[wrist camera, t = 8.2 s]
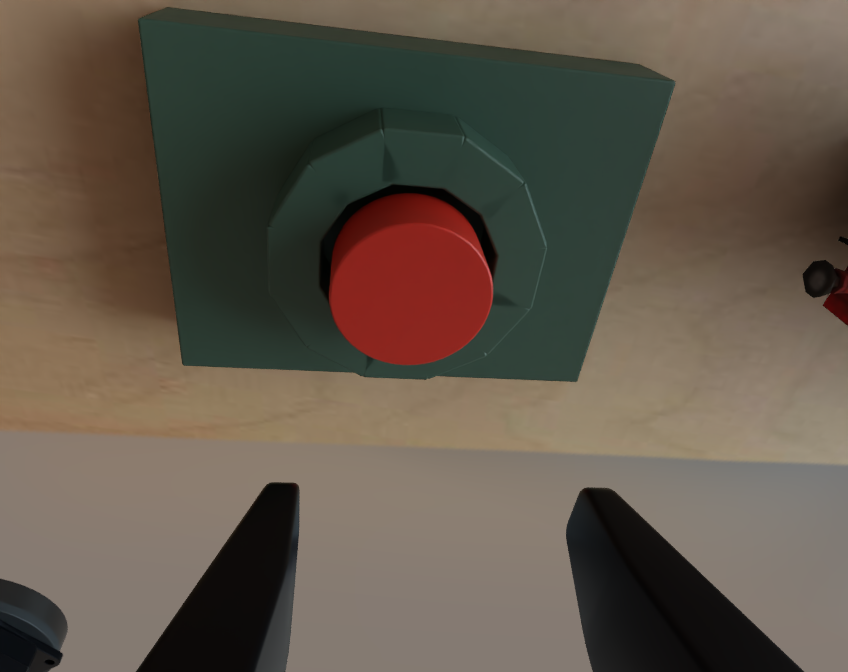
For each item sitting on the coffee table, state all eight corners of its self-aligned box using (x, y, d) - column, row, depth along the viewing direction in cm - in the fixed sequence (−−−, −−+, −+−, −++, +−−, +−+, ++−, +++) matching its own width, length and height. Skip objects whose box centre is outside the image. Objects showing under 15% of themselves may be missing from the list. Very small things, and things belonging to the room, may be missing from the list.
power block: (199, 325, 19) (164, 407, 16) (165, 6, 14) (105, 29, 11) (558, 343, 21) (596, 421, 17) (640, 63, 16) (715, 98, 12)
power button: (329, 321, 15) (325, 362, 14) (334, 185, 13) (331, 216, 12) (467, 329, 16) (478, 369, 14) (492, 198, 14) (508, 230, 12)
